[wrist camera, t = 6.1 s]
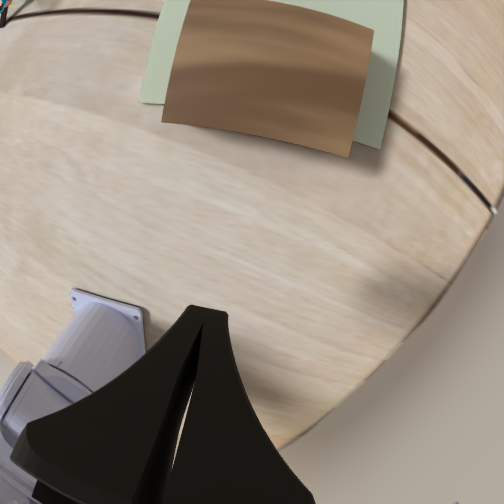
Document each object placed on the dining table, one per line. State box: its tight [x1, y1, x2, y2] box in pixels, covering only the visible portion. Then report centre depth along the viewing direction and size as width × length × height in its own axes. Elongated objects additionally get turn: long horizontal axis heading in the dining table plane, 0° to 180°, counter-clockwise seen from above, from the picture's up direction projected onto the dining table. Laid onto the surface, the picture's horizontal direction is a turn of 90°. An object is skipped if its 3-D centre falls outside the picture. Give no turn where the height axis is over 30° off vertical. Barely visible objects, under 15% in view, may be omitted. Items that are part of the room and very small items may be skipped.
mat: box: [139, 0, 404, 150], centre depth 12 cm, size 16×16×1 cm
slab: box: [161, 0, 374, 158], centre depth 12 cm, size 3×10×8 cm
